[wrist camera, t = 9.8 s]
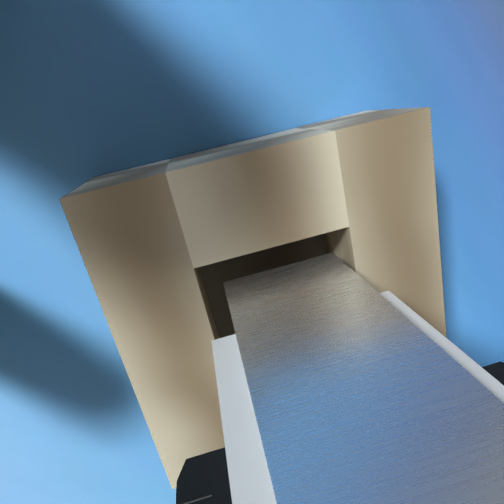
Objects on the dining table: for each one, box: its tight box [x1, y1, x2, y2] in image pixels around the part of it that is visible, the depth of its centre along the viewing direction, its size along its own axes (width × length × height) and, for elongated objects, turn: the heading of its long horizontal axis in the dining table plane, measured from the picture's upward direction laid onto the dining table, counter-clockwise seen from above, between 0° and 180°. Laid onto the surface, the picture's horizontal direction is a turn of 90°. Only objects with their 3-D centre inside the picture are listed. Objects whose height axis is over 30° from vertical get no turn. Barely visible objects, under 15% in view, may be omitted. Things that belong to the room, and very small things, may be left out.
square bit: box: [223, 253, 504, 504], centre depth 8 cm, size 4×4×14 cm
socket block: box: [59, 107, 446, 489], centre depth 17 cm, size 12×12×5 cm
